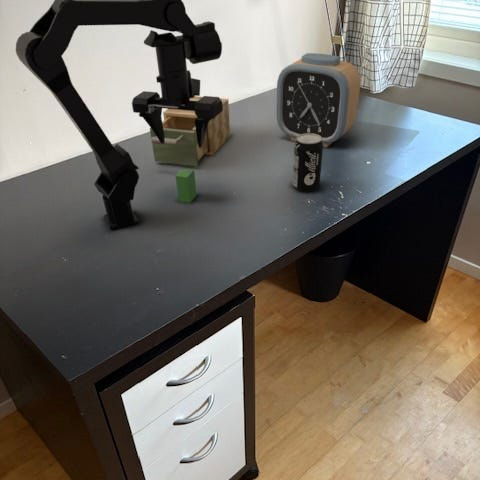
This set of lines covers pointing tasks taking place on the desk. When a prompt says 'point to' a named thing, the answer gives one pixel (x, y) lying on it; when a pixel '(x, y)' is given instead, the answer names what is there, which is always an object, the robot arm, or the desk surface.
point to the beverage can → (307, 162)
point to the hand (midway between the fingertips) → (181, 145)
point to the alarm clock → (318, 97)
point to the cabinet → (209, 124)
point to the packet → (186, 185)
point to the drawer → (179, 142)
